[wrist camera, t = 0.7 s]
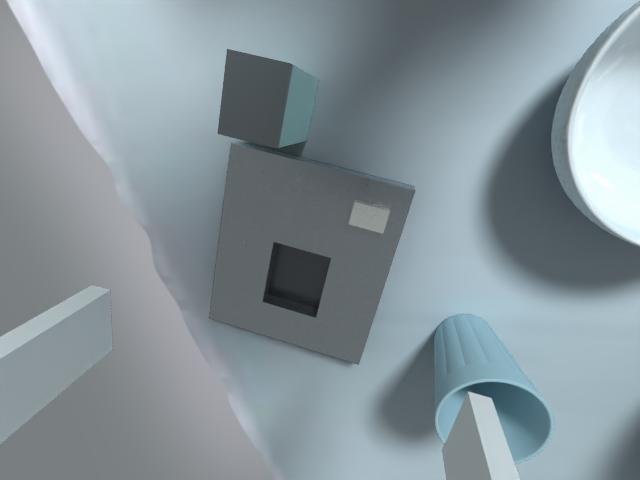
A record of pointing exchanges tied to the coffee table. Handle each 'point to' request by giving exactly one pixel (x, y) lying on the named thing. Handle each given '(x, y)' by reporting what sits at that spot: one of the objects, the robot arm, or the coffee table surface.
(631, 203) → the cereal bowl
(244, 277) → the socket plate
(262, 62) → the plug
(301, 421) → the coffee table surface
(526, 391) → the cup
